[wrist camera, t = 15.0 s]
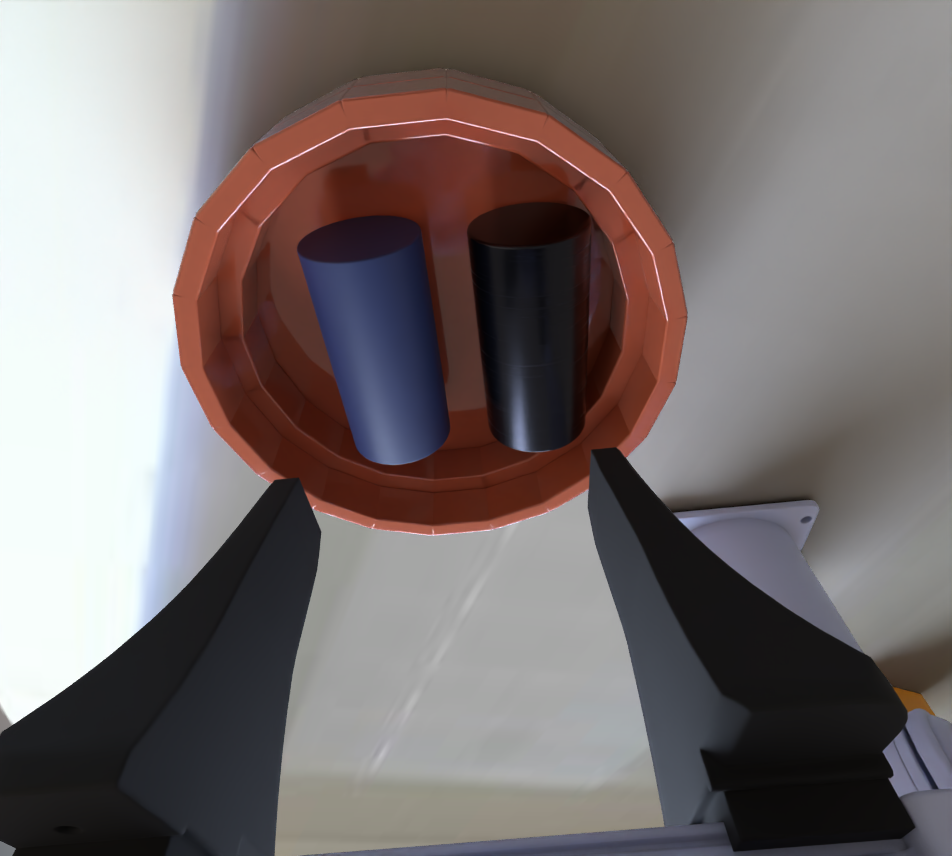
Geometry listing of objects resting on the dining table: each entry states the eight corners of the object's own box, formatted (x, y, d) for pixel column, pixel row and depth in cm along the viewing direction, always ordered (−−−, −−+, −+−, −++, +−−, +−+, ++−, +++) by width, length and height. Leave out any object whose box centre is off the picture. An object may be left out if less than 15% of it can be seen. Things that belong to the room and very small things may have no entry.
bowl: (625, 444, 23) (653, 515, 20) (295, 476, 24) (274, 551, 21) (672, 39, 14) (734, 56, 11) (139, 97, 15) (59, 129, 12)
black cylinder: (546, 382, 21) (606, 426, 19) (471, 415, 20) (523, 467, 18) (542, 193, 17) (619, 220, 14) (444, 222, 16) (510, 258, 13)
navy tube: (469, 433, 19) (385, 480, 18) (416, 392, 21) (337, 431, 20) (445, 233, 15) (330, 274, 13) (381, 207, 17) (277, 240, 15)
